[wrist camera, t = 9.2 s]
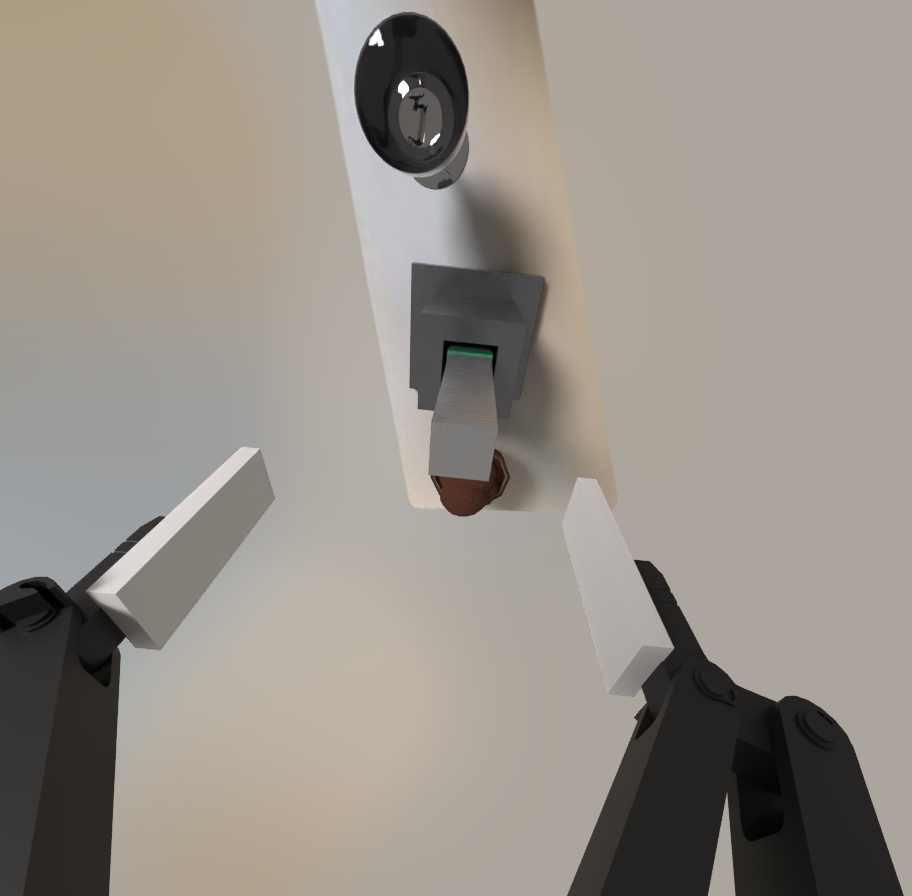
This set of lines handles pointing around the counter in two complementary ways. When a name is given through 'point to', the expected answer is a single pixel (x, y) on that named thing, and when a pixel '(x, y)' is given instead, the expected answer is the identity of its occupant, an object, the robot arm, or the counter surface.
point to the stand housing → (471, 325)
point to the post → (465, 415)
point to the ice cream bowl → (472, 489)
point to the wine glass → (414, 99)
